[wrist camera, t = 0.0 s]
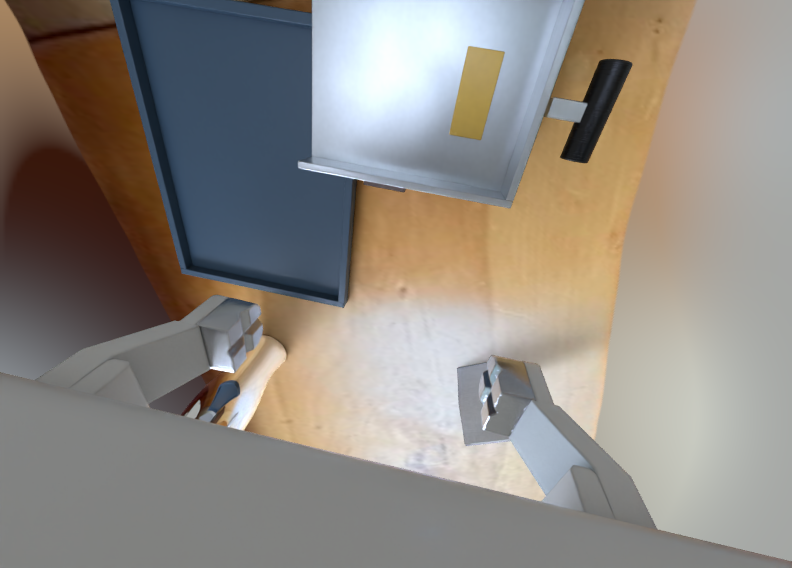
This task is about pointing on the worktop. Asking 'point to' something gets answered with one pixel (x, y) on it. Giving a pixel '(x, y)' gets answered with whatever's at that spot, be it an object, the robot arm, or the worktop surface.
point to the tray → (238, 144)
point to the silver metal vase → (238, 388)
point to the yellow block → (476, 92)
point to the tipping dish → (445, 92)
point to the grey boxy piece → (473, 407)
